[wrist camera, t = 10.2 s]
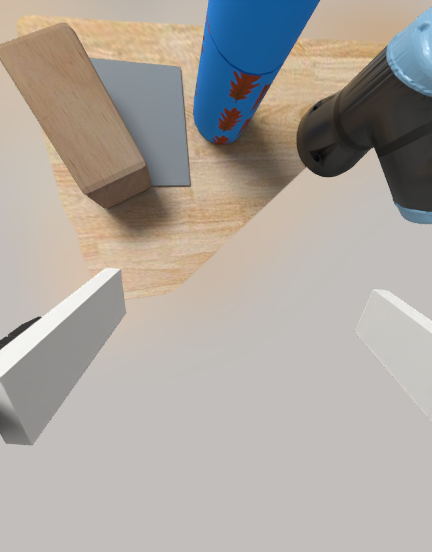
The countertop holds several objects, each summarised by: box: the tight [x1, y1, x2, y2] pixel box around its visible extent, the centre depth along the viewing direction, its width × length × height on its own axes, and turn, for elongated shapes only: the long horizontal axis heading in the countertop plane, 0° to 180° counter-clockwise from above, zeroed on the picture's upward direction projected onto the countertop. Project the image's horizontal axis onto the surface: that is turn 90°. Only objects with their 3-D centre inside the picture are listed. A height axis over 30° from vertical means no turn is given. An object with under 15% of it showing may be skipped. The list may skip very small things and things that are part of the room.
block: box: [0, 23, 152, 208], centre depth 33 cm, size 10×10×20 cm
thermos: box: [193, 0, 320, 145], centre depth 30 cm, size 11×11×25 cm
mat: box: [89, 58, 190, 186], centre depth 39 cm, size 18×21×1 cm
